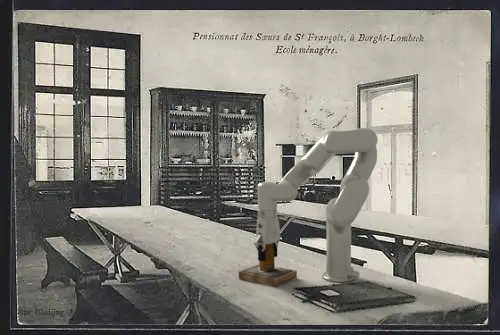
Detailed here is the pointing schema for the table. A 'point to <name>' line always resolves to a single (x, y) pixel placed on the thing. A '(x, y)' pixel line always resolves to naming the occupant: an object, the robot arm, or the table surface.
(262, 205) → the robot arm
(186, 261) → the table surface
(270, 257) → the condiment
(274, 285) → the tray
